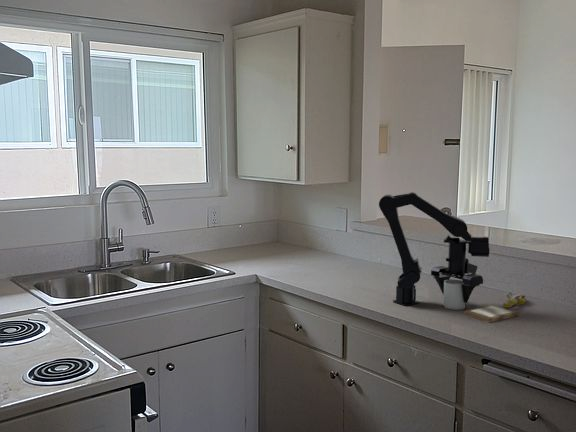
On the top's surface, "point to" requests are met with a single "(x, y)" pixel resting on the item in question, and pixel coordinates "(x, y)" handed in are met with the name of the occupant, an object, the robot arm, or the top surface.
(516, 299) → the toy
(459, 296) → the cup
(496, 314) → the wooden picture frame
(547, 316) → the top surface
